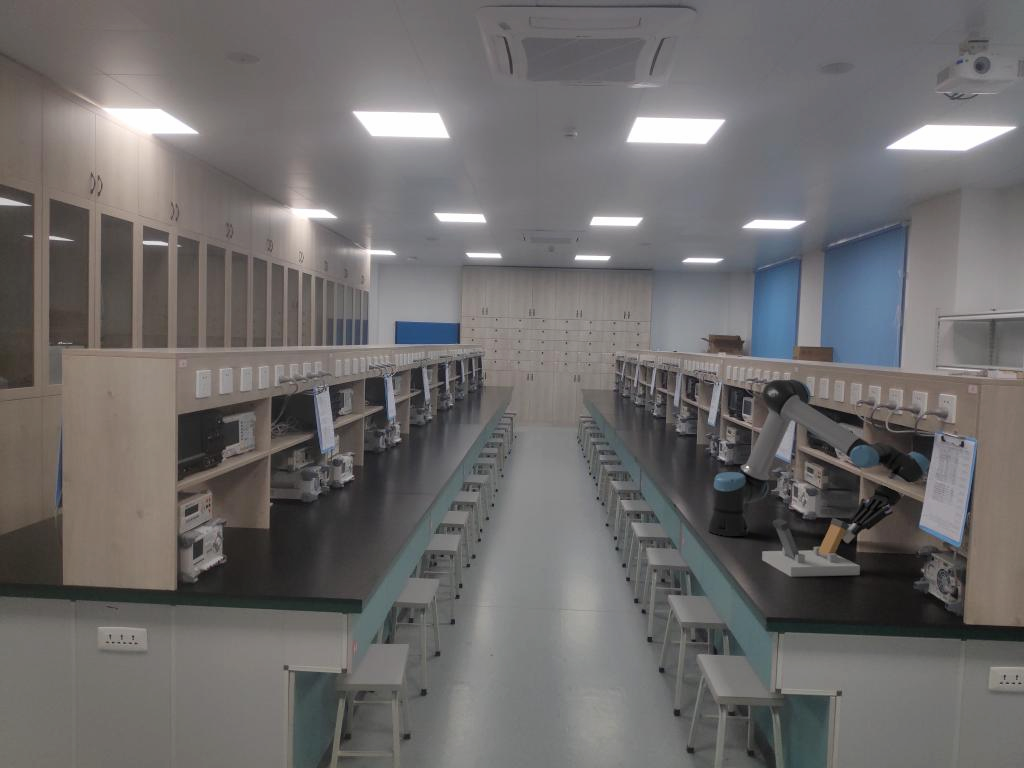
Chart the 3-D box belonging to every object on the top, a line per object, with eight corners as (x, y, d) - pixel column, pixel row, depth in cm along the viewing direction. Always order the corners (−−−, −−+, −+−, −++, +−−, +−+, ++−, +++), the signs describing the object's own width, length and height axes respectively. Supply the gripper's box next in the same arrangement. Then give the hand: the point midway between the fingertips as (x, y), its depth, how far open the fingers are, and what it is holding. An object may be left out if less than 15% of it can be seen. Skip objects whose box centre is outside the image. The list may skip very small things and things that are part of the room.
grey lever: (786, 557, 215) (772, 521, 214) (792, 553, 216) (778, 518, 214) (795, 561, 210) (780, 525, 209) (802, 558, 210) (787, 522, 209)
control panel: (762, 559, 220) (762, 544, 220) (826, 558, 224) (827, 543, 224) (790, 576, 204) (791, 559, 203) (859, 574, 207) (860, 558, 207)
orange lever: (816, 553, 217) (832, 517, 217) (822, 556, 217) (839, 520, 218) (825, 558, 212) (843, 521, 212) (832, 561, 212) (849, 524, 212)
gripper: (912, 502, 211) (864, 553, 209) (884, 494, 224) (838, 542, 222) (899, 486, 210) (850, 537, 208) (871, 478, 223) (825, 527, 221)
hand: (844, 539), depth 215 cm, fingers closed
